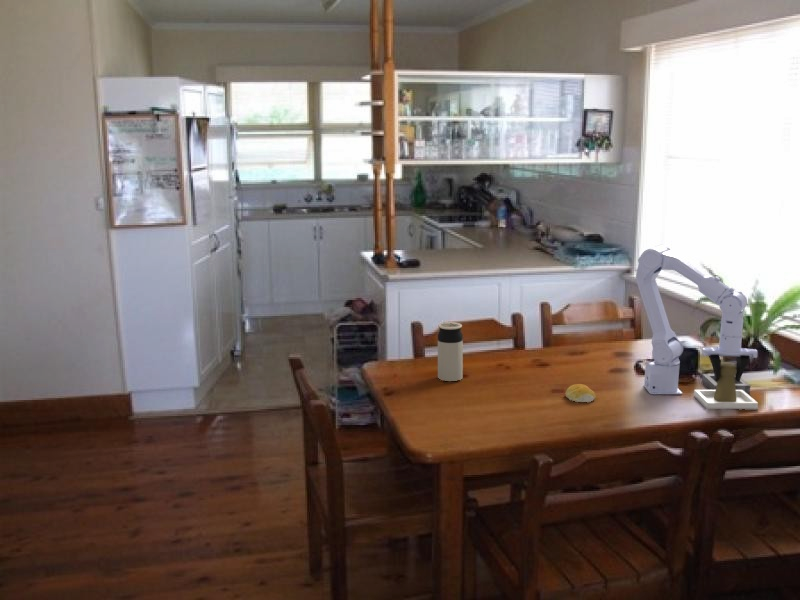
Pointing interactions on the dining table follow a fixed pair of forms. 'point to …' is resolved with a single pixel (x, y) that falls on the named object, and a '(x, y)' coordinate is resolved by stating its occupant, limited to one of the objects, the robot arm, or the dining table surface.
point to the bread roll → (580, 393)
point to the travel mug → (450, 351)
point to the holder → (712, 383)
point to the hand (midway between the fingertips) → (727, 380)
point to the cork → (726, 383)
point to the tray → (711, 404)
